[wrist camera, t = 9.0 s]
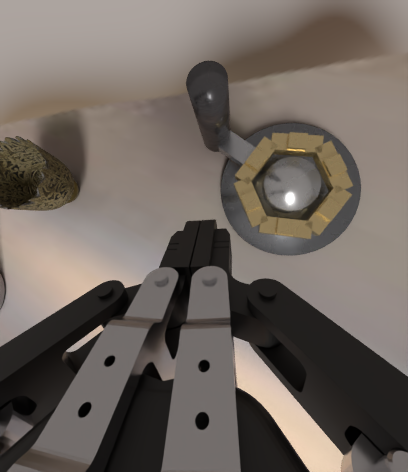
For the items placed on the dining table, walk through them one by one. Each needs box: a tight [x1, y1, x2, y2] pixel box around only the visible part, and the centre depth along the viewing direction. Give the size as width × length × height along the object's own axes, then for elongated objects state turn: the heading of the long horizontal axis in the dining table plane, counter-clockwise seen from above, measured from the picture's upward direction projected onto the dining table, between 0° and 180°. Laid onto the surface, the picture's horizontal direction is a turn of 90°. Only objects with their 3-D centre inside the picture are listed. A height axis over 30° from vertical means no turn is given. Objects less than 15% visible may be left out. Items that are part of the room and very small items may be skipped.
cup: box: [0, 136, 79, 211], centre depth 26 cm, size 8×7×8 cm
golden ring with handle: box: [186, 61, 353, 239], centre depth 20 cm, size 17×12×9 cm
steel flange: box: [221, 123, 361, 255], centre depth 24 cm, size 15×15×3 cm
